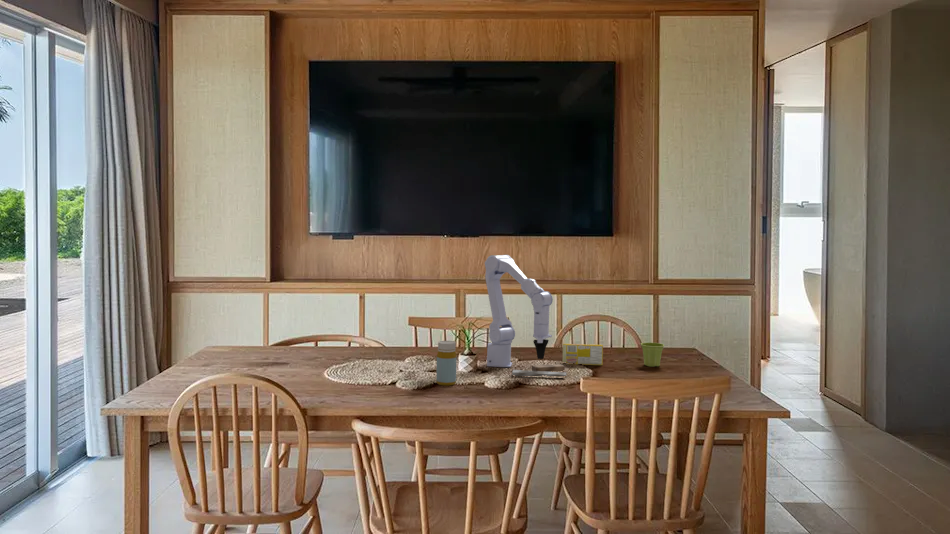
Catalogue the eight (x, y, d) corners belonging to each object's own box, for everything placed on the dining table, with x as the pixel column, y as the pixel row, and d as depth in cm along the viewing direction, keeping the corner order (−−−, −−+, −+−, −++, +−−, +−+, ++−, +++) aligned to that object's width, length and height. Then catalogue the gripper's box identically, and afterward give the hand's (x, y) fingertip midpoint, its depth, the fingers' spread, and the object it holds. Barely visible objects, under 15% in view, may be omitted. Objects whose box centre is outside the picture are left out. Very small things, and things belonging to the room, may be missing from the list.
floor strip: (512, 376, 297) (512, 372, 297) (513, 373, 303) (513, 369, 303) (565, 379, 295) (565, 374, 295) (566, 376, 300) (566, 371, 300)
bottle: (448, 387, 279) (449, 344, 277) (432, 384, 282) (433, 342, 281) (459, 383, 284) (460, 341, 283) (443, 380, 288) (444, 339, 287)
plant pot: (638, 366, 321) (638, 345, 320) (642, 362, 330) (643, 341, 329) (661, 368, 317) (662, 347, 317) (665, 364, 326) (666, 343, 325)
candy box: (602, 364, 324) (602, 344, 323) (602, 365, 322) (603, 345, 321) (562, 363, 325) (562, 343, 325) (562, 364, 323) (562, 344, 322)
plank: (535, 375, 302) (535, 367, 302) (531, 373, 306) (531, 365, 305) (564, 373, 306) (564, 365, 305) (560, 371, 309) (560, 364, 309)
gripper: (551, 326, 296) (550, 362, 297) (552, 321, 310) (551, 355, 311) (532, 325, 296) (531, 362, 298) (534, 320, 311) (533, 354, 312)
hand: (540, 358), depth 304 cm, fingers closed
